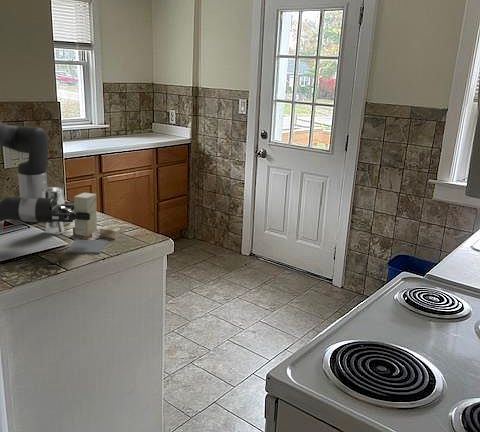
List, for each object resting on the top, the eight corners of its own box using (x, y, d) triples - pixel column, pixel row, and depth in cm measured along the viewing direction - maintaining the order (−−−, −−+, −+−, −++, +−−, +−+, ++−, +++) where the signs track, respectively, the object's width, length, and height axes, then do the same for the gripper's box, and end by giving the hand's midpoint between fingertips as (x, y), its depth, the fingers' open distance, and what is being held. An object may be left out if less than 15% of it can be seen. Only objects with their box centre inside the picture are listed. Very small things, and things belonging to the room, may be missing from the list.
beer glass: (55, 227, 169) (53, 185, 164) (70, 231, 166) (68, 188, 162) (39, 232, 163) (36, 189, 158) (54, 236, 160) (52, 193, 156)
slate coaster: (75, 241, 157) (75, 239, 157) (106, 242, 158) (106, 240, 158) (66, 252, 148) (66, 250, 148) (99, 253, 149) (99, 252, 148)
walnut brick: (73, 235, 163) (72, 227, 162) (80, 233, 165) (80, 225, 164) (85, 240, 160) (84, 231, 159) (92, 237, 162) (92, 229, 161)
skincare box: (87, 236, 148) (86, 198, 144) (74, 234, 149) (73, 196, 145) (97, 230, 154) (97, 193, 150) (84, 228, 154) (83, 191, 151)
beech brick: (100, 236, 163) (99, 228, 162) (105, 234, 166) (104, 225, 165) (115, 239, 162) (115, 231, 161) (120, 236, 164) (120, 228, 164)
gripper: (28, 204, 140) (86, 207, 141) (45, 192, 154) (98, 195, 155) (30, 228, 142) (87, 232, 144) (46, 214, 156) (98, 217, 157)
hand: (92, 213), depth 149 cm, fingers closed on skincare box, 7 cm apart
